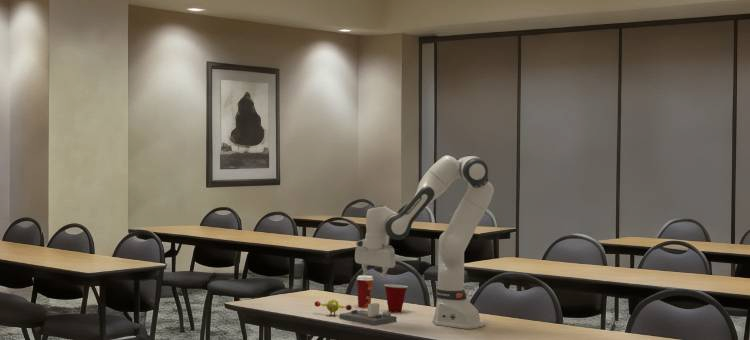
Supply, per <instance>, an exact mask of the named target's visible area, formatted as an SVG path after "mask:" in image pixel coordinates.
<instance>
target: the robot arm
mask: <svg viewBox="0 0 750 340" xmlns="http://www.w3.org/2000/svg"><path fill="white" fill-rule="evenodd" d="M458 179H462V180H464V181H465V182H467V190H466V192H465V193H464V195H463V197H462V199H461V200H460V202H459V204H458V206H457V208H456V209H455V211H454V213H453V215H452V217H451V219H450V221H449V224H448V225H447V227H446V229H445V230H444V231H443V232H442V233H441V234H440V235H439V238H438V260H437V261H438V263H437V265H438V266H437V267H438V268H437V288H436V291H435V293H436V295H435V297H436V304H435V305H436V306H435V310H434V311H435V312H434V315H433V319H432V322H433V323H434V326H435V325H436V326H443V327H449V328H450V327H451V328H455V329H456V328H457V329H465V330H471V329H472V330H473V329H478V328H483V327H484V326H485V325H486V323H485V322H483V321H480V313H479V310H478V309H477V308H476V307H475V306H474V305H473V304H472V303H471V301H469V299H467V296H468V295H469V293H470V292H466V291H465V289H464V287H465V286H464V283H465V252H466V249H467V247H468V246H469V244H470V241H471V239H472V238H473V235H474V233H475V232H476V229H477V228H478V227H477V226H479V224H480V222H481V220H482V218H483V216H484V214H485V212H486V211H487V209H488V207H489V205H490V203H491V200H492V199H493V196H494V192H495V188H494V186H493V185H492V183H491V182H489V168H488V164H487V162H485V160H484V159H482V158H480V157H478V156H476V155H464V156H461V157H458V158H455V157H453V156H451V155H449V154H448V155H444V156H442V157H440V159H438V160H437V161H436V162H435V163H433V164H432V165H431V167H430V168H429V169H428V170H427V171H426V172H425V173H424V174H423V176H422V178H421V179H420V181H419V183H418V186H417V189H416V192H415V195H414V196H413V198H411V200H410V202H408V204H407V205H405V207H404V208H403V209H402V211H401V212H396V211H393V210H391V209H390V208H388V207H387V206H386V205H384V204H379V205H373V206H370V207H369V208H368V209H367V212H366V215H365V216H366V217H365V229H366V230H365V231H366V233H365V238H363V239H360V240H358V241H355V245H356V247H355V251H354V261H355V263H356V264H359V265H361V269H362V271H363V275H367V276H370V271H369V270H368V268H367V267H368V266H374V267H380V268H381V270H382V272H380V273H379V275H380V276H379V277H380V278H381V279H385V278H386V274H387V272H388V271H389V269H393V268H395V266H396V254H395V248H394V247H393V246H392V245H387V236H388V237H389V238H390V239H392V240H395V241H401V240H404V239H406V238H407V237H408V235H409V234H410V231H411V228H412V225H413V223H414V221H416V219H417V218H418V217H419V216H420V214H421V213H422V212H423V210H425V209H426V207H427V206H428V205H430V204H431V203H433V201H435V200H436V199H437V198H439V197H440V196H441V195H442V194H443V193H444V192H445V191H446V190H447V189H448V188H449V187H450V186H451V184H452V183H453V182H454V181H456V180H458Z"/></svg>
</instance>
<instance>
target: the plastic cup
mask: <svg viewBox="0 0 750 340" xmlns="http://www.w3.org/2000/svg"><path fill="white" fill-rule="evenodd" d="M383 286H384V289H385V294H386V295H385V296H386V304H387V309H388V310H387V311H388V312H390V313H402V310H403V306H404V300H405V297H406V292H407V289H408V287H409V286H408V285H401V284H390V283H389V284H384V285H383Z"/></svg>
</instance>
